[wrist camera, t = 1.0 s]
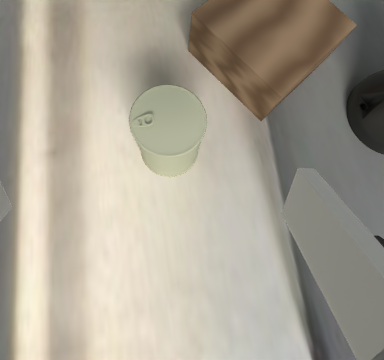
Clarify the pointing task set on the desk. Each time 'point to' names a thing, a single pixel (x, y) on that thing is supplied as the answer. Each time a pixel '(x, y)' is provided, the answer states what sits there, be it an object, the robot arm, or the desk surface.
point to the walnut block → (265, 45)
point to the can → (168, 128)
